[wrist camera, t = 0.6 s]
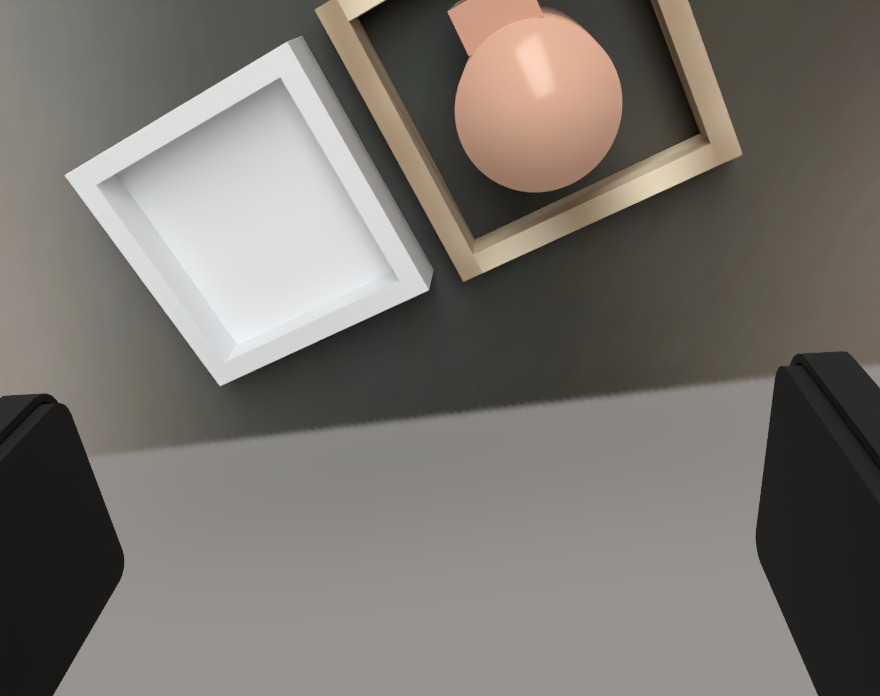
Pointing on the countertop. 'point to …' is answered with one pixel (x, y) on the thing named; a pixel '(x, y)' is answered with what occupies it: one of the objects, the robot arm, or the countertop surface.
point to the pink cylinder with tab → (533, 94)
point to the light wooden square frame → (571, 210)
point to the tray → (256, 216)
